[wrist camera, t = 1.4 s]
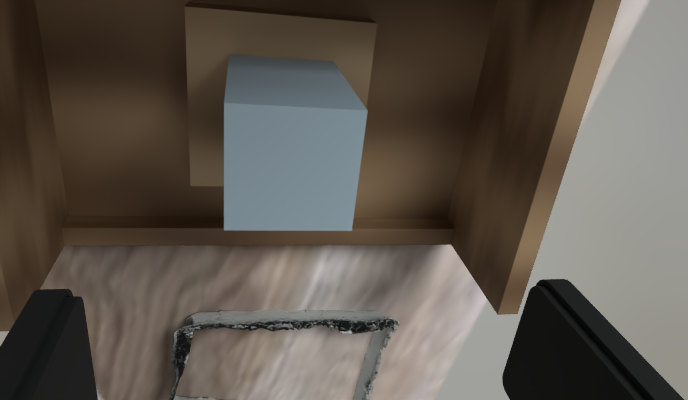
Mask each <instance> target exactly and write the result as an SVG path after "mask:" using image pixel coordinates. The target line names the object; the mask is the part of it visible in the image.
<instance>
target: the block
mask: <svg viewBox="0 0 688 400" xmlns="http://www.w3.org/2000/svg"><path fill="white" fill-rule="evenodd" d="M367 112H368V110H367V109H366V107H365V106H364V104H363V103H362V102H361V100H360V99H359V97H358V96H357V94H356V93H355V91H354V90H353V89H352V87H351V86H350V84H349V83H348V81H347V80H346V78H345V77H344V76H343V74H342V73H341V71H340V70H339V68H338V67H337V65H336V64H335V62H334V61H321V60H307V59H293V58H279V57H264V56H250V55H236V54H229V61H228V71H227V80H226V89H225V99H224V230H247V231H352V225H353V218H354V210H355V203H356V195H357V188H358V180H359V173H360V165H361V157H362V150H363V142H364V135H365V127H366V120H367Z"/></svg>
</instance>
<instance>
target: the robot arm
mask: <svg viewBox="0 0 688 400" xmlns="http://www.w3.org/2000/svg"><path fill="white" fill-rule="evenodd" d="M503 386H504V389H505V391H506V393H507V395H508V397H509V399H510V400H684V399H683V398H682V397H681V396H680V395H679V394H678V393H677V392H676V391H675V390H674V389H673V388H672V387H671V386H670V385H669V384H668V383H667V382H666V380H664V378H663V377H662V376H661V375H660V374H659V373H658V372H657V371H656V370H655V369H654V368H653V367H652V366H651V365H650V364H649V363H648V362H647V361H646V360H645V359H644V358H643V357H642V356H641V355H640V354H639V353H638V351H636V350H635V348H634V347H633V346H631V344H630V343H629V342H628V341H627V340H626V339H625V338H624V337H623V336H622V335H621V334H620V333H619V332H618V331H617V330H616V329H615V328H614V327H613V326H612V325H611V324H610V323H609V322H608V320H606V318H605V317H604V316H603V315H602V314H601V313H600V312H599V311H598V310H597V309H596V308H595V307H594V306H593V305H592V304H591V303H590V302H589V301H588V300H587V299H586V298H585V297H584V296H583V295H582V294H581V293H580V292H579V291H578V290H577V288H576V287H575V286H574V285H573V284H572V283H571V282H569V281H568V280H565V279H551V280H540V281H539V282H538V283H537V284H536V286H534V287H532V288H531V289H530V292H529V294H528V297H527V300H526V304H525V307H524V310H523V314H522V316H521V319H520V322H519V325H518V329H517V332H516V335H515V338H514V341H513V345H512V347H511V351H510V354H509V357H508V360H507V363H506V366H505V369H504V372H503ZM0 400H98V398H97V391H96V384H95V378H94V371H93V364H92V357H91V350H90V343H89V337H88V330H87V323H86V316H85V309H84V303H83V299H82V297H73V294H72V292H71V290H69V289H46V290H35V291H34V292H33V293H32V294H31V296H30V298H29V299H28V301H27V303H26V304H25V306H24V308H23V309H22V311H21V313H20V314H19V316H18V318H17V319H16V321H15V323H14V324H13V326H12V328H11V330H10V331H9V333H8V335H7V336H6V338H5V340H4V341H3V343H2V345H1V346H0Z"/></svg>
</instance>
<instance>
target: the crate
mask: <svg viewBox="0 0 688 400" xmlns="http://www.w3.org/2000/svg"><path fill="white" fill-rule="evenodd" d="M620 2H621V0H0V331H10V330H11V328H12V326H13V324H14V323H15V321H16V319H17V318H18V316H19V314H20V313H21V311H22V309H23V308H24V306H25V304H26V303H27V301H28V299H29V298H30V296H31V294H32V293H33V292H34V291H35V290H39V289H40V288H41V286H42V284H43V282H44V281H45V279H46V277H47V275H48V273H49V272H50V270H51V268H52V266H53V265H54V263H55V261H56V259H57V257H58V256H59V254H60V252H61V250H62V249H63V247H64V246H125V245H447V244H451V245H452V246H453V248H454V249H455V251H456V252H457V254H458V255H459V257H460V258H461V260H462V261H463V263H464V264H465V266H466V267H467V269H468V270H469V272H470V274H471V275H472V277H473V278H474V280H475V281H476V283H477V284H478V286H479V287H480V289H481V290H482V292H483V293H484V295H485V296H486V298H487V299H488V301H489V302H490V304H491V305H492V306H493V308H494V310H495V311H496V312H497V314H498V315H499V314H517V313H518V311H519V308H520V304H521V302H522V299H523V296H524V292H525V289H526V286H527V283H528V280H529V277H530V274H531V271H532V268H533V265H534V262H535V259H536V256H537V253H538V250H539V247H540V244H541V241H542V238H543V235H544V232H545V229H546V226H547V223H548V220H549V217H550V213H551V211H552V208H553V205H554V202H555V199H556V196H557V193H558V190H559V187H560V184H561V180H562V178H563V175H564V172H565V169H566V165H567V163H568V160H569V156H570V153H571V150H572V147H573V144H574V141H575V138H576V135H577V132H578V129H579V126H580V123H581V120H582V117H583V114H584V111H585V108H586V105H587V102H588V99H589V96H590V93H591V90H592V87H593V84H594V81H595V78H596V75H597V72H598V69H599V66H600V63H601V60H602V57H603V54H604V51H605V48H606V45H607V42H608V39H609V36H610V33H611V30H612V27H613V24H614V21H615V18H616V15H617V12H618V8H619V5H620ZM229 54H236V55H250V56H264V57H279V58H293V59H307V60H321V61H334V62H335V64H336V65H337V67H338V68H339V70H340V71H341V73H342V74H343V76H344V77H345V78H346V80H347V81H348V83H349V84H350V86H351V87H352V89H353V90H354V91H355V93H356V94H357V96H358V97H359V99H360V100H361V102H362V103H363V104H364V106H365V107H366V109H367V110H368V112H367V120H366V127H365V135H364V142H363V150H362V157H361V165H360V173H359V180H358V188H357V195H356V203H355V210H354V218H353V225H352V231H247V230H224V99H225V89H226V80H227V71H228V61H229Z"/></svg>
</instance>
